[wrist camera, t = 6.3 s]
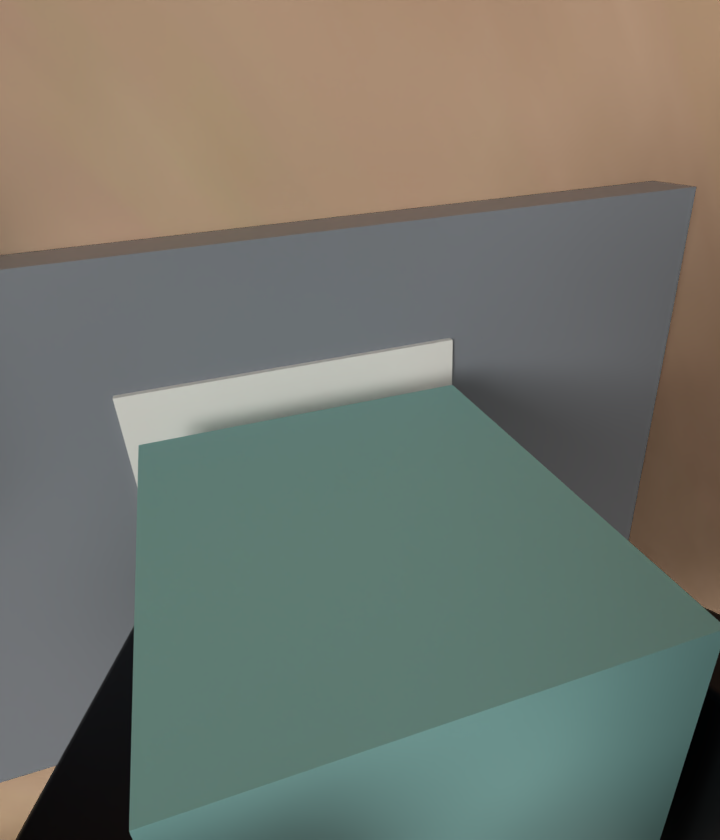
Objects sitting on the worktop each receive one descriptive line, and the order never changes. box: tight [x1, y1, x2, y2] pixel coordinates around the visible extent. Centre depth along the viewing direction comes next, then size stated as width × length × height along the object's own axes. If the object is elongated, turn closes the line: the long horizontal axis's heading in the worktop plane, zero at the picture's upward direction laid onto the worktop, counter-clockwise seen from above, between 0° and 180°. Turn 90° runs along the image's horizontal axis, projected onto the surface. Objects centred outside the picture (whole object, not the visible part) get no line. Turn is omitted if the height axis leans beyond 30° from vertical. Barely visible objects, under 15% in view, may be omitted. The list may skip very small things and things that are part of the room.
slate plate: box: [0, 181, 696, 782], centre depth 11 cm, size 14×9×1 cm, turn 94°
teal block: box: [129, 385, 720, 840], centre depth 7 cm, size 4×4×5 cm
